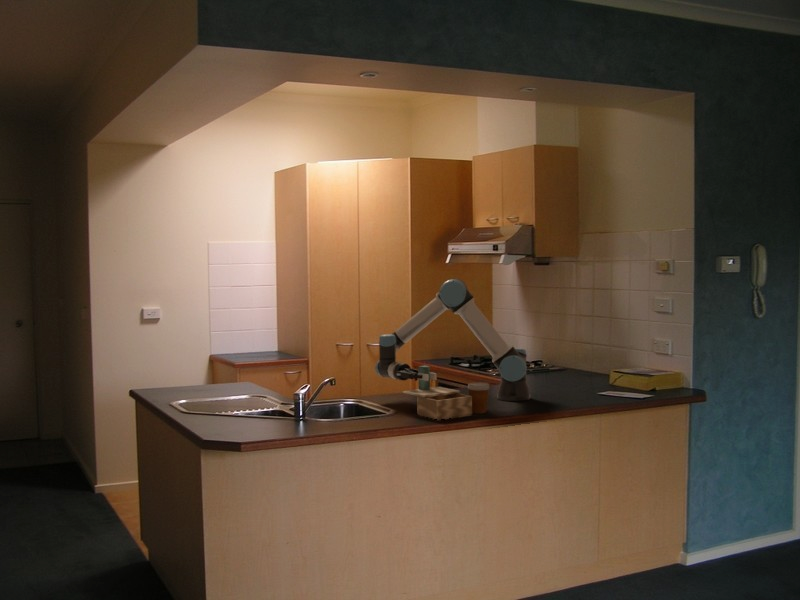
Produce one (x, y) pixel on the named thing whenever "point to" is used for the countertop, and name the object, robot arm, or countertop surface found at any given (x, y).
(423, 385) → the lid
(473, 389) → the disposable coffee cup
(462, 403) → the carton
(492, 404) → the countertop surface
